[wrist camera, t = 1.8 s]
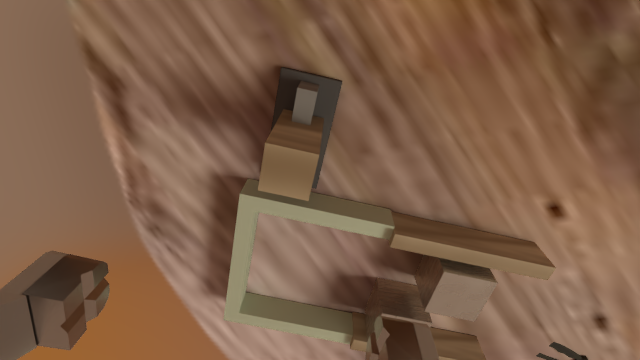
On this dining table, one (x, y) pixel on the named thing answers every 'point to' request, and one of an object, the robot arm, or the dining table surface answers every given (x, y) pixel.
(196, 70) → the dining table surface
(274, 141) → the wooden block with peg
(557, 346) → the claw hammer
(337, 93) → the pad
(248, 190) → the open picture frame
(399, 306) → the beige cube
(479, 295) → the tan cube
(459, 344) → the slot rails
